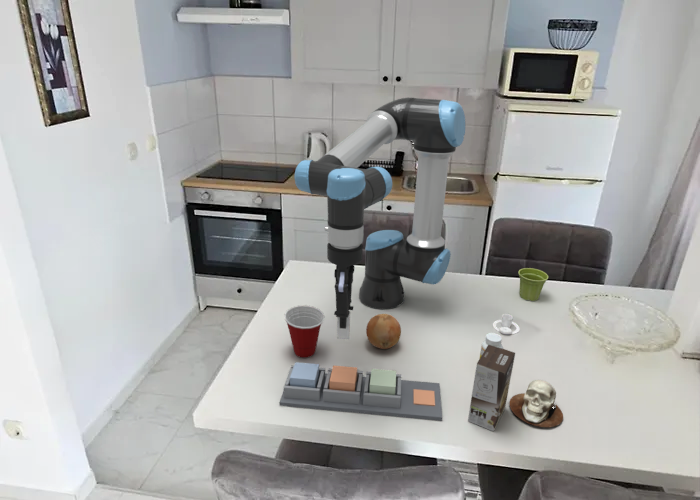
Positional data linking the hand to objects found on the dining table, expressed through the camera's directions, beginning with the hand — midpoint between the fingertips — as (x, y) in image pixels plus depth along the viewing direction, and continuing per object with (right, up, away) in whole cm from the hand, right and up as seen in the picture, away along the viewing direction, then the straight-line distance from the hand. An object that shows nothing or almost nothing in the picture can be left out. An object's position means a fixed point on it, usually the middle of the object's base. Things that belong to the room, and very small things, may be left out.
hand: (343, 336), depth 112 cm
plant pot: (+62, +4, +53) cm, 82 cm away
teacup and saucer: (+46, -4, +35) cm, 58 cm away
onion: (+11, -7, +26) cm, 29 cm away
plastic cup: (-11, -8, +22) cm, 26 cm away
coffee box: (+34, -19, +1) cm, 38 cm away
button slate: (-9, -12, +6) cm, 17 cm away
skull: (+45, -18, +3) cm, 49 cm away
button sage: (+9, -13, +5) cm, 17 cm away
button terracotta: (0, -13, +6) cm, 14 cm away
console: (+4, -15, +6) cm, 17 cm away
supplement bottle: (+39, -11, +17) cm, 44 cm away
